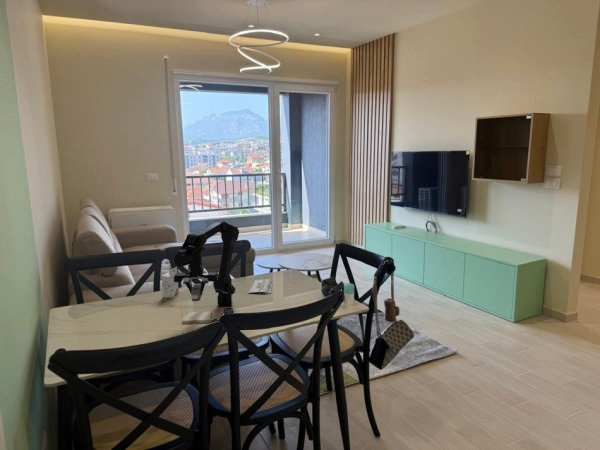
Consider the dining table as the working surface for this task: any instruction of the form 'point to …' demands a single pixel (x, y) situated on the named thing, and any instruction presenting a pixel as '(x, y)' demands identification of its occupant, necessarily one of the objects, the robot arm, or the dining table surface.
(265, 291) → the newspaper
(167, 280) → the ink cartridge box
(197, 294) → the connector
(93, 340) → the dining table surface
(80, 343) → the dining table surface
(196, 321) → the oak board
